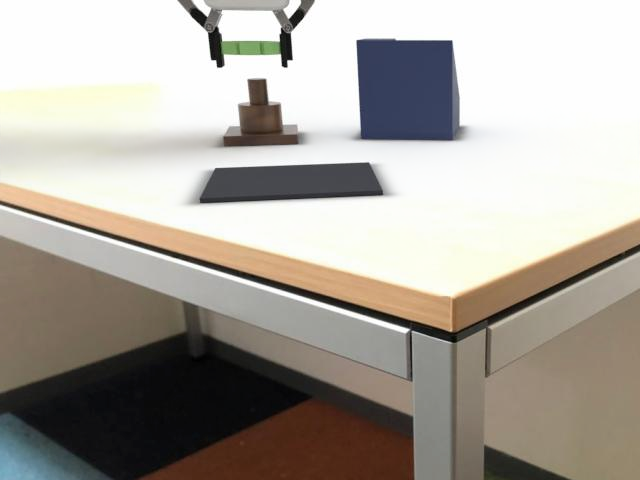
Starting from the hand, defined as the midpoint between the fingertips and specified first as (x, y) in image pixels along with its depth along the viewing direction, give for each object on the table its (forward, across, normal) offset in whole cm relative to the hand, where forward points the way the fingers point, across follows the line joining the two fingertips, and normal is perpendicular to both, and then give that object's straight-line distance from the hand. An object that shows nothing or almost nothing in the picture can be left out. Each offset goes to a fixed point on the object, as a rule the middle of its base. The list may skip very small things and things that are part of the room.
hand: (253, 66), depth 93 cm
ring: (-1, 0, 0) cm, 1 cm away
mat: (+9, -4, +28) cm, 30 cm away
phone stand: (+9, -20, -2) cm, 22 cm away
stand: (+9, 0, 0) cm, 9 cm away
